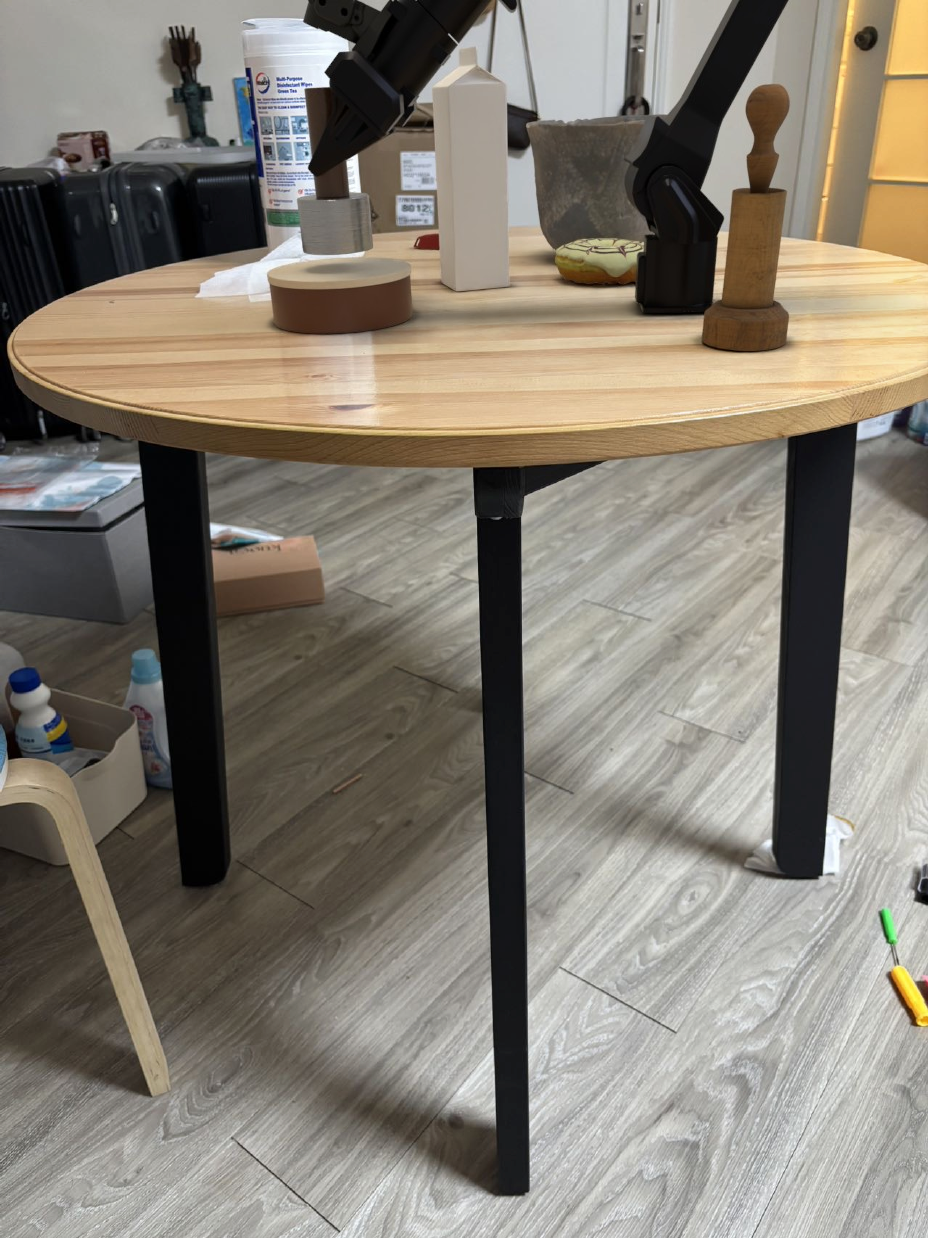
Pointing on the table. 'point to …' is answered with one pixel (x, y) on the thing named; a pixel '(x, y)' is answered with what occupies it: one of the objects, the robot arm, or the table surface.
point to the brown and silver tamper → (331, 196)
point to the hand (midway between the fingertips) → (315, 171)
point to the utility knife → (428, 241)
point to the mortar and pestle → (754, 241)
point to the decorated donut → (599, 260)
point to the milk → (472, 176)
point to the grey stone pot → (585, 178)
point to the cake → (341, 294)
